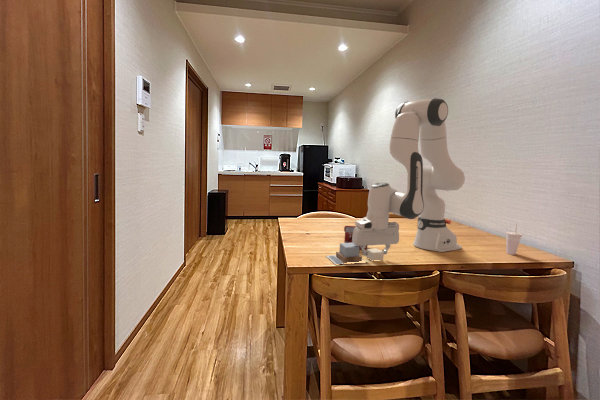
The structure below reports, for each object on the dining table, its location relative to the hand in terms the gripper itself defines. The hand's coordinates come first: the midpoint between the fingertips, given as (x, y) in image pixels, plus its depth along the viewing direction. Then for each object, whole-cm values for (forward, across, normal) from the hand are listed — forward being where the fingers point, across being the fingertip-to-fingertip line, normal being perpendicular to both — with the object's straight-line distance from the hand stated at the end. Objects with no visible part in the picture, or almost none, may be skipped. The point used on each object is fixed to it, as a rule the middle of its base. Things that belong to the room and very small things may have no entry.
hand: (374, 254), depth 134 cm
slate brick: (0, +11, -2) cm, 11 cm away
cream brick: (+2, 0, 0) cm, 2 cm away
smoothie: (+2, -68, +5) cm, 68 cm away
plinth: (+2, +11, -2) cm, 11 cm away
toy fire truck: (+2, 0, -17) cm, 17 cm away
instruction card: (+2, +12, -2) cm, 12 cm away
